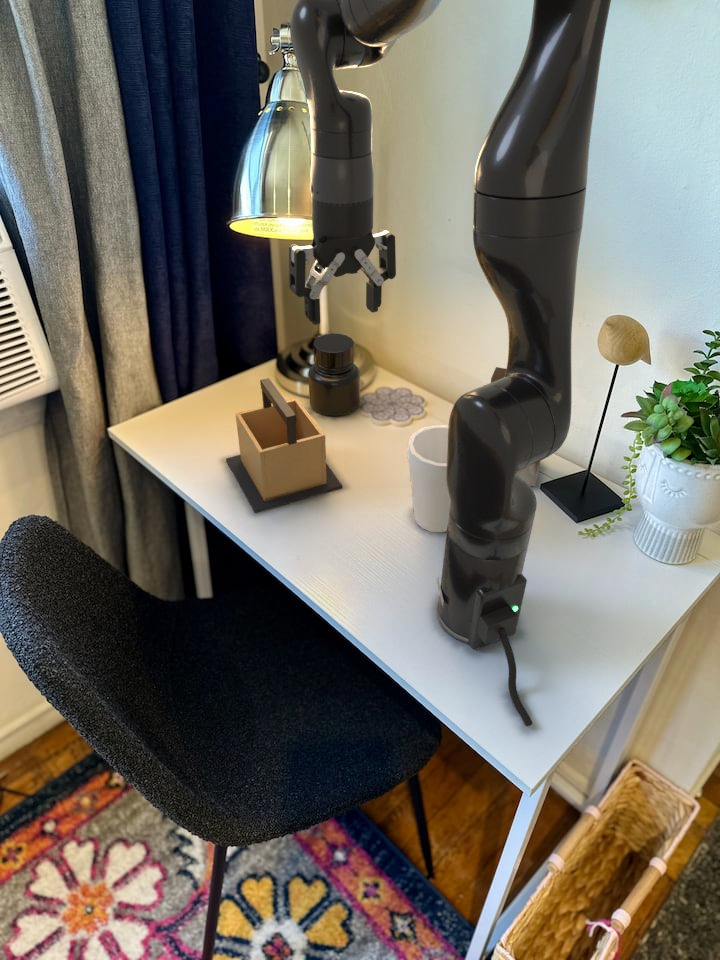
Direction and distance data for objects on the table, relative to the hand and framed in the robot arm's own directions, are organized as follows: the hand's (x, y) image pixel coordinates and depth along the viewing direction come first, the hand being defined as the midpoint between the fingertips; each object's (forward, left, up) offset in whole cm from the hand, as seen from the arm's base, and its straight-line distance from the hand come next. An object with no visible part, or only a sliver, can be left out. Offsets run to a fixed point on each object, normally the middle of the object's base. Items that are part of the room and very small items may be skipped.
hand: (343, 316), depth 97 cm
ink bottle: (+18, -6, -26) cm, 33 cm away
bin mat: (+3, +9, -26) cm, 28 cm away
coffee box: (-11, -23, -26) cm, 37 cm away
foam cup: (-16, -7, -26) cm, 32 cm away
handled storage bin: (+3, +9, -26) cm, 28 cm away
